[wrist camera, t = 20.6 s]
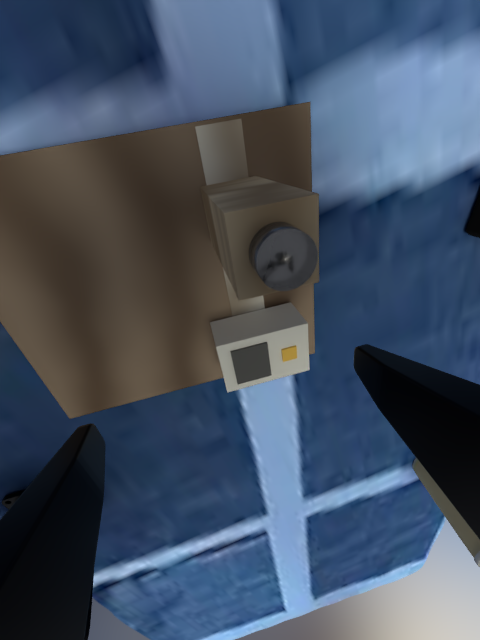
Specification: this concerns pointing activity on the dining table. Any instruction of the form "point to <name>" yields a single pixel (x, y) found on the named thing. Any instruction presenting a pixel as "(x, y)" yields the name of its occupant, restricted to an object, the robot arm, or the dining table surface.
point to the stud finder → (261, 345)
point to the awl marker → (263, 234)
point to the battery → (475, 221)
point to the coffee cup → (449, 512)
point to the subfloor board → (134, 253)
